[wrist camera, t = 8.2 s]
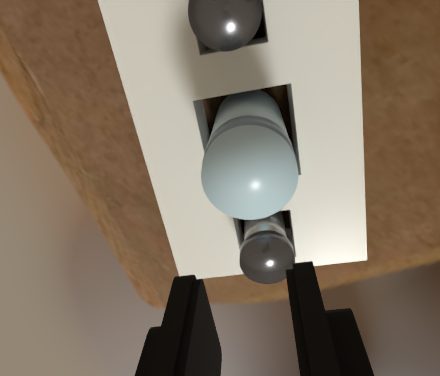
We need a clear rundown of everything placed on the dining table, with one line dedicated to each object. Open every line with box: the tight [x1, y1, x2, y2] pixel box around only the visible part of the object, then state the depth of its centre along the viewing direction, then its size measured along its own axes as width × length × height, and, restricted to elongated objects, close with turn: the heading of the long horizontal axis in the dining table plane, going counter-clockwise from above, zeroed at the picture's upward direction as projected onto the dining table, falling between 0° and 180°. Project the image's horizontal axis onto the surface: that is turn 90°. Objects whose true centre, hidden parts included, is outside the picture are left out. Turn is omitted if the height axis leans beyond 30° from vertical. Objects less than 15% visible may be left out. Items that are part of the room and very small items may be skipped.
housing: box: [98, 0, 367, 279], centre depth 26 cm, size 21×14×4 cm, turn 11°
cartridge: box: [201, 89, 298, 220], centre depth 23 cm, size 5×5×10 cm
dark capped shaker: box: [239, 211, 295, 284], centre depth 27 cm, size 4×4×6 cm
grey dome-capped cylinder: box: [188, 0, 262, 52], centre depth 21 cm, size 4×4×6 cm
